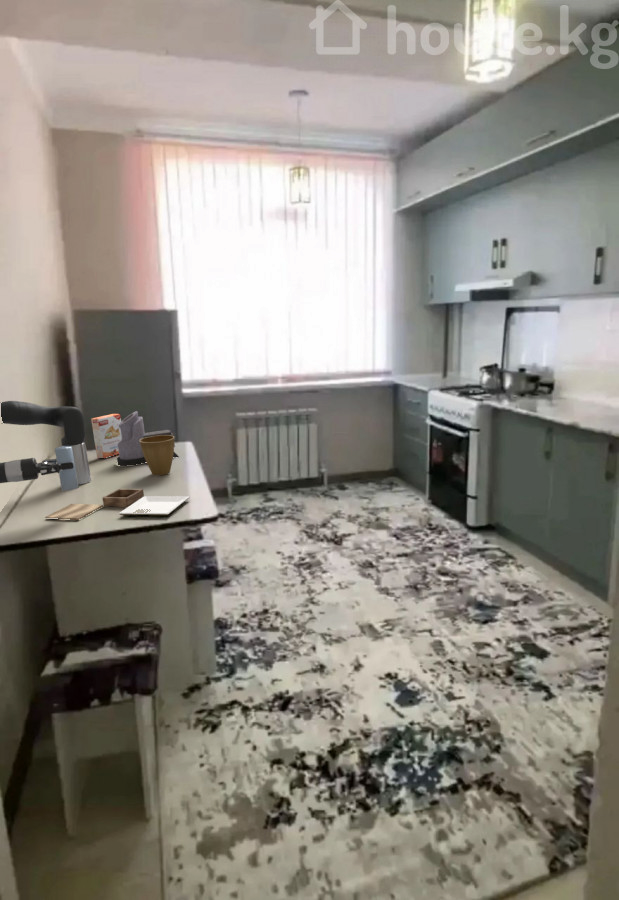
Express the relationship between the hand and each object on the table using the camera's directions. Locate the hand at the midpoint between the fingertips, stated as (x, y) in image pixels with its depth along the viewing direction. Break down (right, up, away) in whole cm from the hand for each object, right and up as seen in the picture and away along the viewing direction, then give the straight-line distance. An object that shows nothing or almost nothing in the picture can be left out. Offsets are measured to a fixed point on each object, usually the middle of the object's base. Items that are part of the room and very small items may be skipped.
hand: (73, 463), depth 203 cm
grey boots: (+4, 0, +77) cm, 77 cm away
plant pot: (+19, -6, +49) cm, 53 cm away
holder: (+14, -15, +12) cm, 24 cm away
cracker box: (-18, +1, +91) cm, 93 cm away
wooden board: (-1, -18, +3) cm, 19 cm away
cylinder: (-2, -9, +1) cm, 9 cm away
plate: (+29, -17, +2) cm, 34 cm away
